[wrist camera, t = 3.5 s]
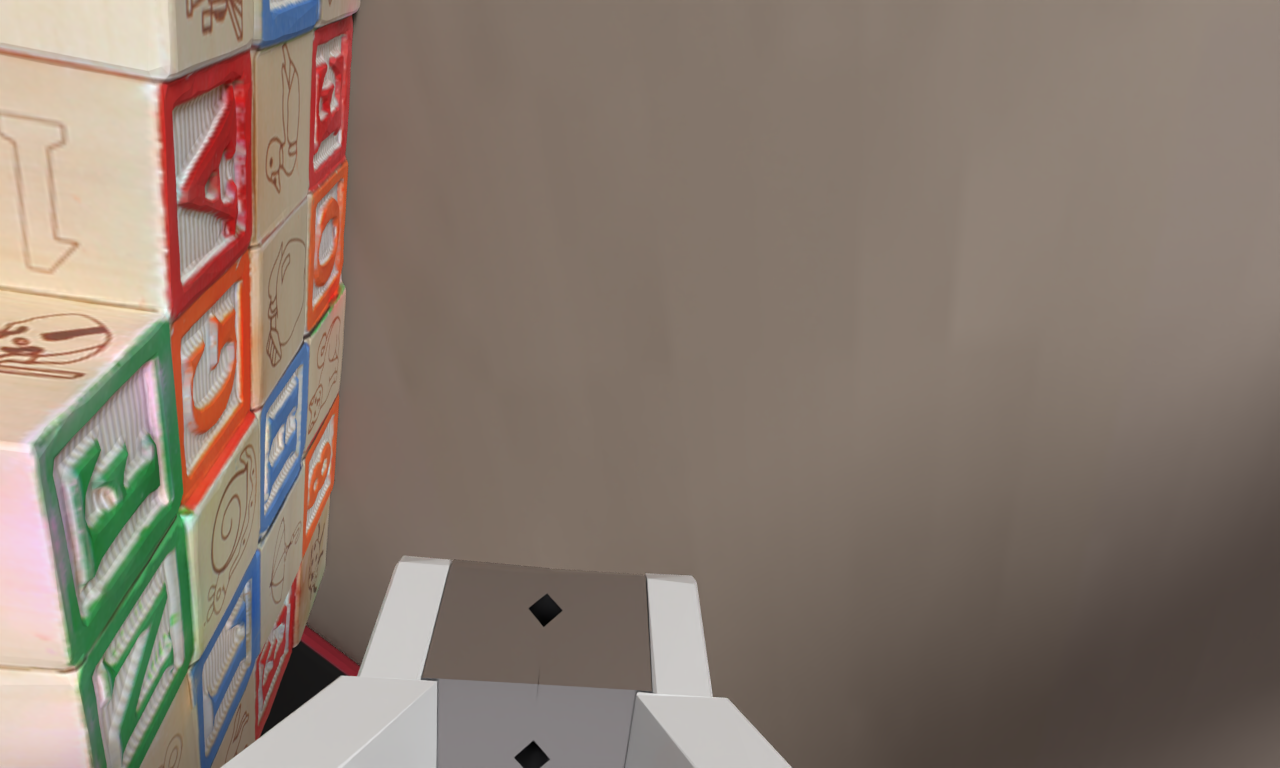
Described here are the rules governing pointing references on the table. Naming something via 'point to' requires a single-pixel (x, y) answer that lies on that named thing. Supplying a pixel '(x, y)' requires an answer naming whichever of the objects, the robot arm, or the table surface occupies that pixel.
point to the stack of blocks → (165, 367)
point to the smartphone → (308, 675)
